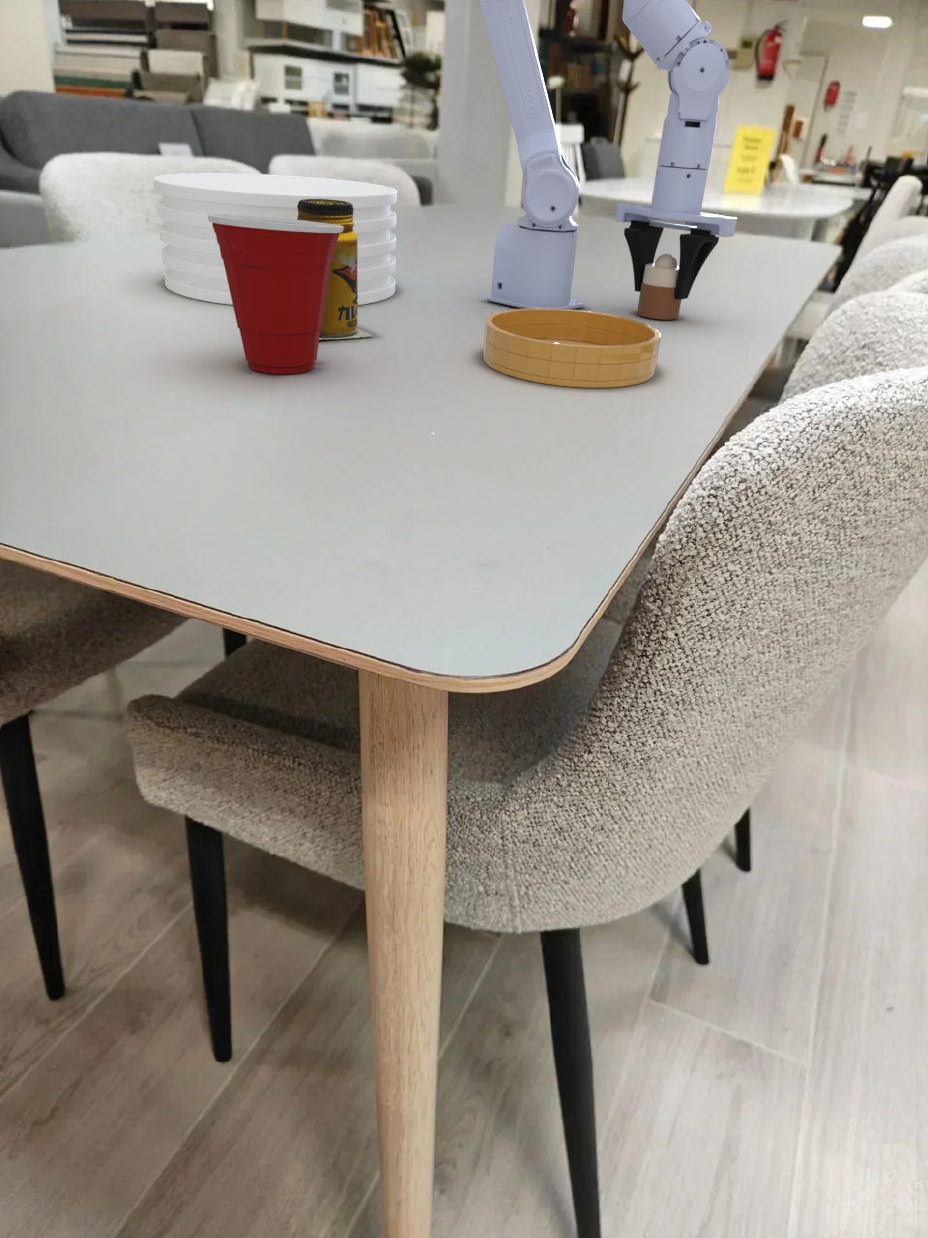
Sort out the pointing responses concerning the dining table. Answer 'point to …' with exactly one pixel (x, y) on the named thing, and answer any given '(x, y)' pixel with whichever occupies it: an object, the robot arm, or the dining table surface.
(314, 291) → the plastic cup
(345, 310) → the condiment
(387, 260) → the plate stack
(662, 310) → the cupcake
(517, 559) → the dining table surface
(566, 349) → the bowl
